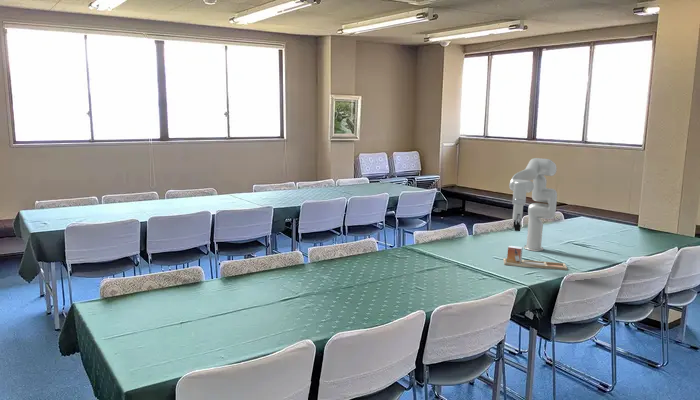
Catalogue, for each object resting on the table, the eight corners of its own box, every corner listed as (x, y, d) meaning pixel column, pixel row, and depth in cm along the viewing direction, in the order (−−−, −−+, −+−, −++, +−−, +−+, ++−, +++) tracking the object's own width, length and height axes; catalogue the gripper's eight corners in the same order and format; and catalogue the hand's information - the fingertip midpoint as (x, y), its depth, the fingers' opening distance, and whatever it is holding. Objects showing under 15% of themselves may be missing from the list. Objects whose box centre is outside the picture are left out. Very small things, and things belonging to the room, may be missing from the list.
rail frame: (503, 260, 330) (503, 258, 330) (564, 265, 323) (564, 263, 323) (504, 264, 321) (504, 262, 321) (567, 270, 313) (567, 267, 313)
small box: (506, 263, 324) (507, 247, 322) (508, 261, 329) (509, 245, 327) (519, 265, 320) (521, 248, 318) (521, 263, 325) (522, 246, 323)
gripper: (511, 199, 327) (509, 226, 330) (513, 203, 310) (511, 231, 313) (524, 199, 325) (521, 227, 328) (526, 204, 309) (524, 232, 311)
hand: (516, 229), depth 321 cm, fingers open, 9 cm apart
